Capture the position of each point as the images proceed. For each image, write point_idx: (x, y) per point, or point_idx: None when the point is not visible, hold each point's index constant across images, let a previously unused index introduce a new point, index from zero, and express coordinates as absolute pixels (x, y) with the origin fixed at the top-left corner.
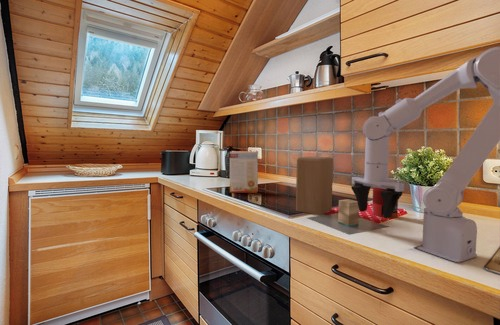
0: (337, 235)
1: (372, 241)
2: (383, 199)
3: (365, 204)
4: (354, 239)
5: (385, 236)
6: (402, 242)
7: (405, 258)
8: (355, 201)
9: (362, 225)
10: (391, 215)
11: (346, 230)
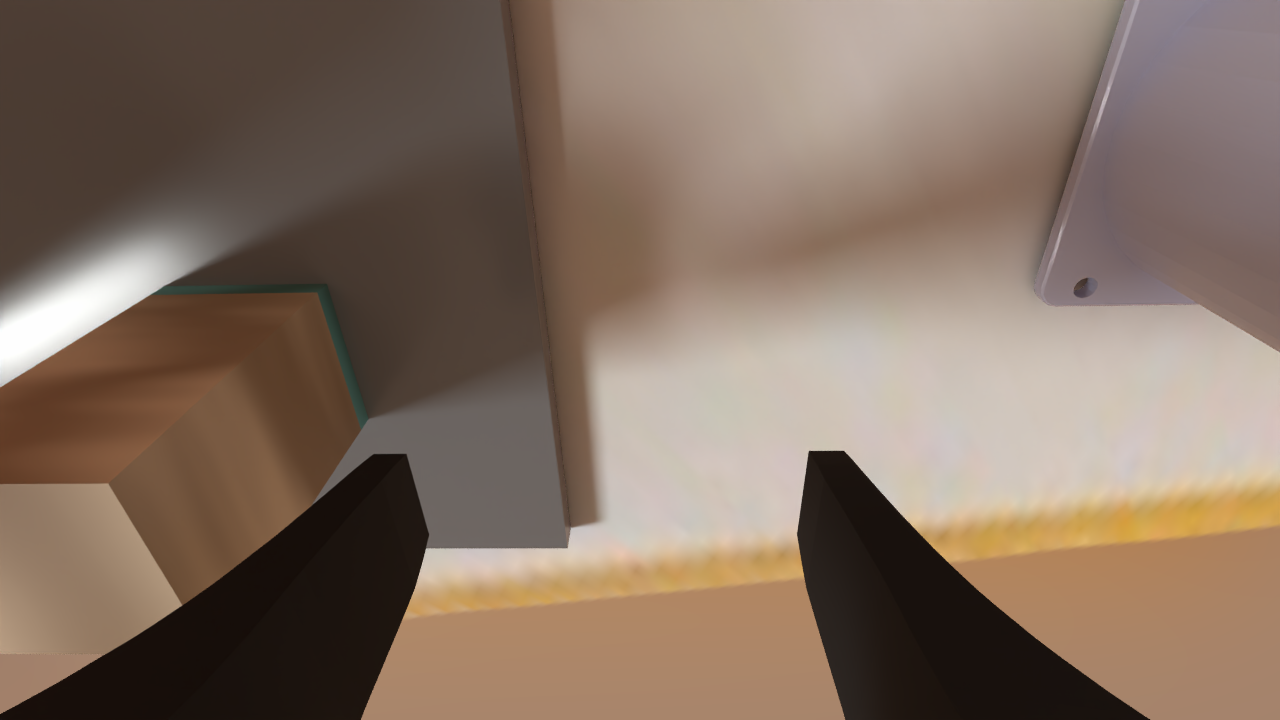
0: (498, 560)
1: (721, 448)
2: None
3: (366, 549)
4: (622, 523)
5: (684, 240)
6: (889, 241)
7: (1056, 506)
8: (90, 522)
9: (349, 250)
10: (859, 471)
11: (468, 501)
